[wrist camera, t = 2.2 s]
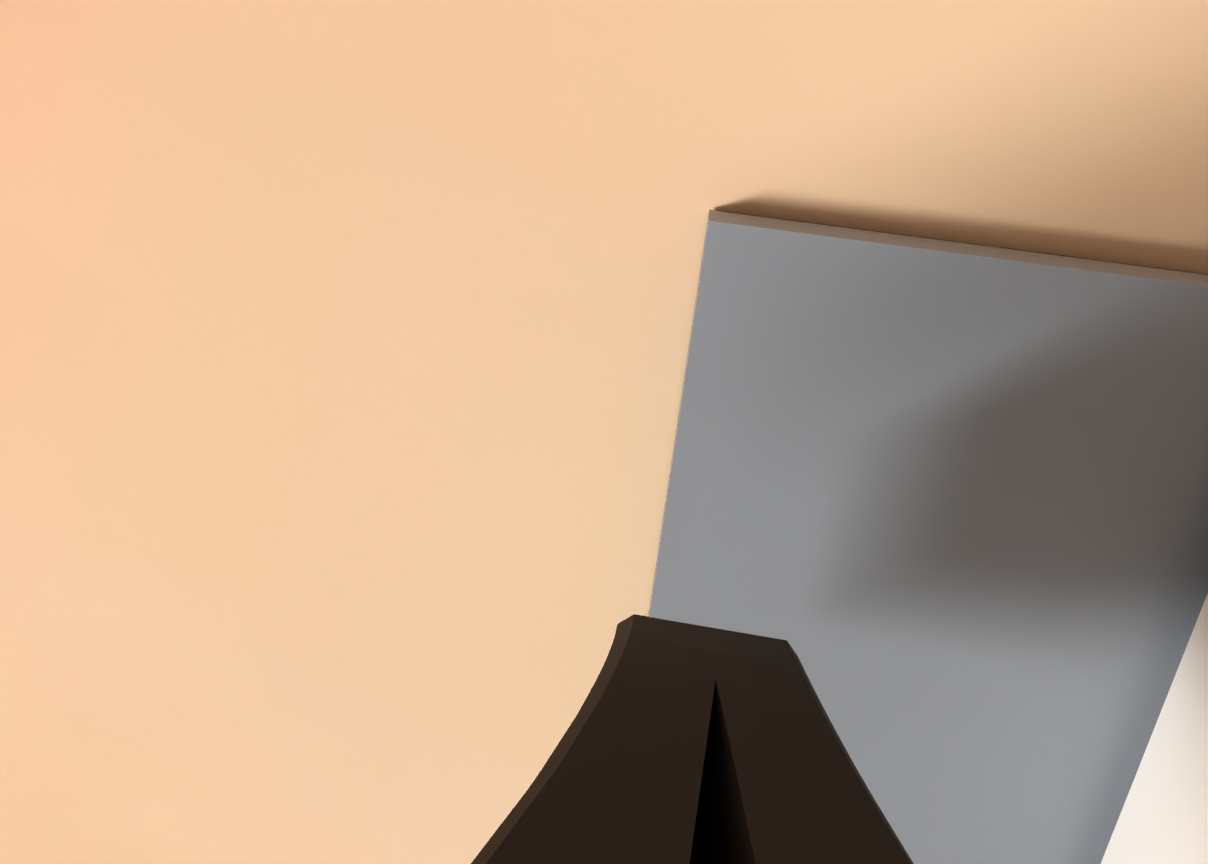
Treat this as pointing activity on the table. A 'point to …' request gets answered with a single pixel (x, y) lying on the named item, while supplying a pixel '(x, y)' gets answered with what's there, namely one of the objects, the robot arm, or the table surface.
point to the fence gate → (1172, 773)
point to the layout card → (950, 513)
